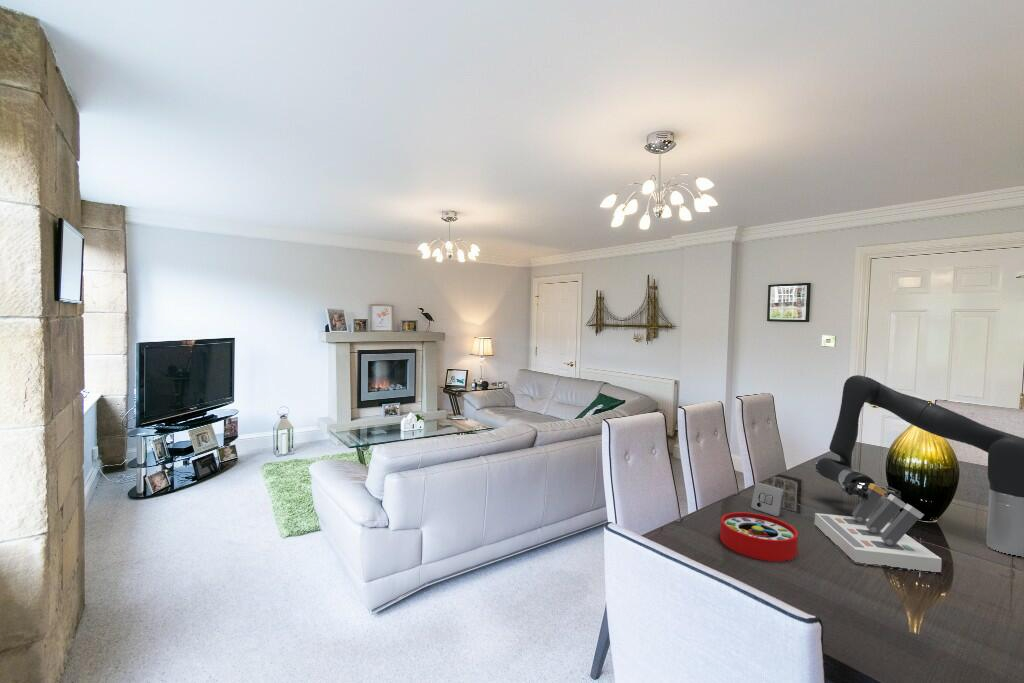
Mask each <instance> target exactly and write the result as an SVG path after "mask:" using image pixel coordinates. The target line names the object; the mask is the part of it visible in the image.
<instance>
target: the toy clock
mask: <svg viewBox="0 0 1024 683" xmlns="http://www.w3.org/2000/svg"><path fill="white" fill-rule="evenodd" d="M719 531H720V534H719V536H720V537H719V538H720V541H721V543H722V545H724V546H725V547H727V548H728V549H730V550H732V552H733V551H734V552H735V553H738V554H739V555H742V556H745V557H749V558H752V559H755V560H756V559H757V560H761V561H766V562H787V561H786V560H788V561H791V560H790V559H792V558H794V557H795V556H796V555H797V556H798V546H799V543H798V542H799V541H798V540H799V539H798V538H799V536H798V535H799V533H798V531H797V529H796V528H795V527H793V526H792V525H790V524H788V523H786V522H785V521H783V520H780V519H777V518H775V517H772V516H767V515H763V514H759V513H753V512H752V513H751V512H739V511H738V512H737V511H736V512H729V513H725V514H723V515H722V516H721V518H720V530H719ZM797 556H796V557H797ZM796 557H795V558H796ZM795 558H794V559H795ZM792 560H793V559H792Z"/></svg>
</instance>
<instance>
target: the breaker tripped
mask: <svg viewBox="0 0 1024 683" xmlns="http://www.w3.org/2000/svg"><path fill="white" fill-rule="evenodd" d="M878 486H879V485H878ZM878 486H876V485H874V484H872V483H870V485H869V486H868V490H867V491H866V492H867V493H868V500H864V499H863V498H861V499H860V500H859V502H858V504H857V505H856V507H855V508H854V510H853V511H852V513H851V515H852V517H853V518H854V519H856V520H857V521H858V522H862V521H864V522H865V520H866V519H867V518H869V516H870V514H871V513H872V512H873V510H874V508H875V507H876V505H878V503H879V501H880V499H882V498H881V496H882V495H884V494H885V492H886V491H885V490H883V489H881V488H880V487H878Z"/></svg>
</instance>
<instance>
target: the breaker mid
mask: <svg viewBox="0 0 1024 683" xmlns="http://www.w3.org/2000/svg"><path fill="white" fill-rule="evenodd" d="M887 496H888V497H887V498H886V500H885V501H884V502H883V504H881V505H880V507H879V508H878V509H877V510H876V511H875V512H874V514H872V516H871V517H870V519H869V520H868V521H867V523H866V525H867V526H866V527H867V529H869V530H870V531H871V532H872V533H876V532H877V533H879V532H880V531H881V530H882V529H883V528H884V527H885V525H886V524H887V523H888V522H889V523H890V521H891V520H892V519H893V518H894V516H895V515H896V514H897V513H899V511H900V510H901V509H904V506H905V505H906V504H907V503H905V502H904V501H903V500H902V499H901V500H900V499H898V498H897V497H895V496H894V495H892V494H890V495H887Z"/></svg>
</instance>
